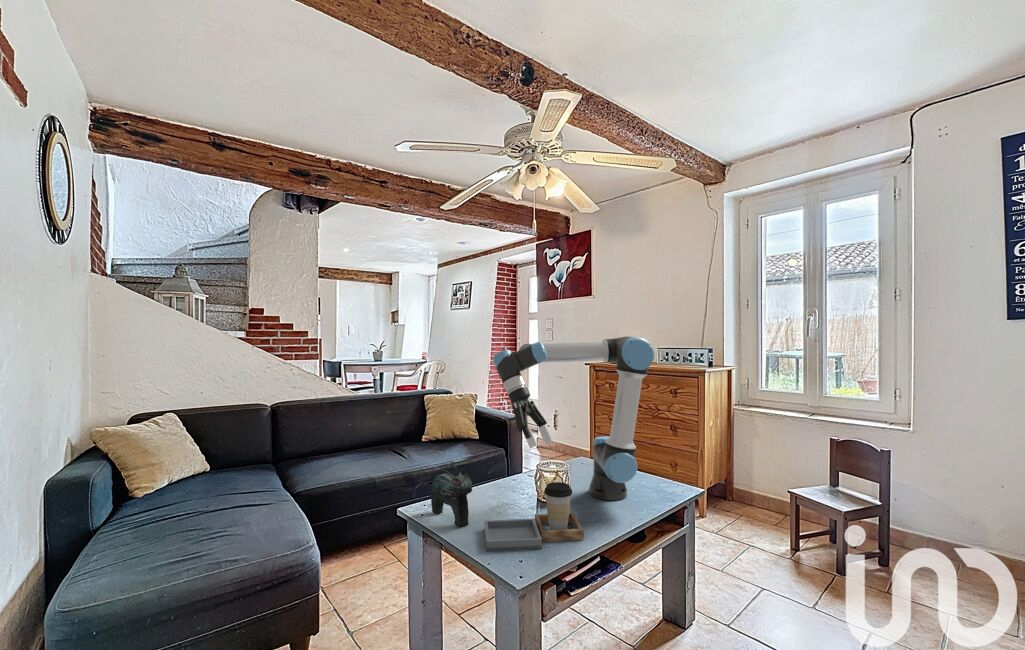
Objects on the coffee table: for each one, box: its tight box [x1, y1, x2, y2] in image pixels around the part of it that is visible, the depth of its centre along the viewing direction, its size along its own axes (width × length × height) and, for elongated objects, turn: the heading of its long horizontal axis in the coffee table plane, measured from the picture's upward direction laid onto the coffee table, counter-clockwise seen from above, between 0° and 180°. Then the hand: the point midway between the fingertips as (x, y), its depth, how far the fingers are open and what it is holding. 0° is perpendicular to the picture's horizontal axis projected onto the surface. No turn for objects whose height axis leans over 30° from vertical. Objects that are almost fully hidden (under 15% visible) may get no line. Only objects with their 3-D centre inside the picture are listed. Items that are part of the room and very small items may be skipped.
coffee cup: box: [543, 481, 573, 530], centre depth 153 cm, size 9×9×15 cm
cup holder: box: [534, 512, 585, 543], centre depth 154 cm, size 14×14×3 cm
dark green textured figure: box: [430, 463, 473, 529], centre depth 162 cm, size 20×6×20 cm, turn 43°
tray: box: [483, 518, 543, 552], centre depth 148 cm, size 17×15×3 cm
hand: (541, 444), depth 161 cm, fingers open, 13 cm apart
